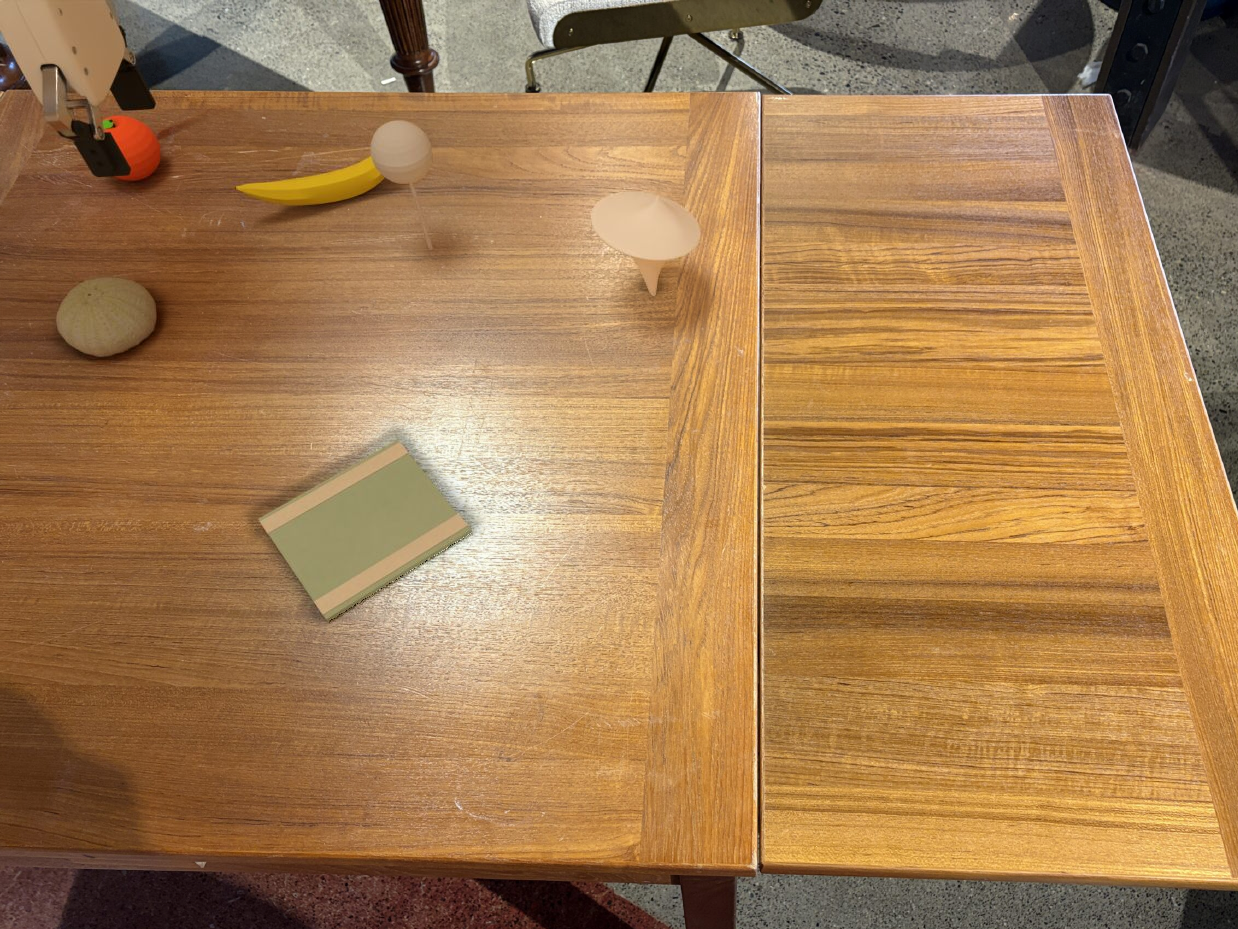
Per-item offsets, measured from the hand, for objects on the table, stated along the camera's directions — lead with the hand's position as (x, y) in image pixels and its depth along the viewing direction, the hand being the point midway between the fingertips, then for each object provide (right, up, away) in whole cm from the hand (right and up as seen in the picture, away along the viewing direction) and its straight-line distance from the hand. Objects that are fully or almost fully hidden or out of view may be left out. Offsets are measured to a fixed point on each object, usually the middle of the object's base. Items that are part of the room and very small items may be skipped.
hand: (127, 140), depth 92 cm
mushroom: (+47, -11, +13) cm, 50 cm away
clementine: (-13, +5, +25) cm, 29 cm away
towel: (+23, -35, -3) cm, 42 cm away
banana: (+11, +2, +22) cm, 25 cm away
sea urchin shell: (-7, -15, +11) cm, 20 cm away
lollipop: (+23, -5, +17) cm, 29 cm away
